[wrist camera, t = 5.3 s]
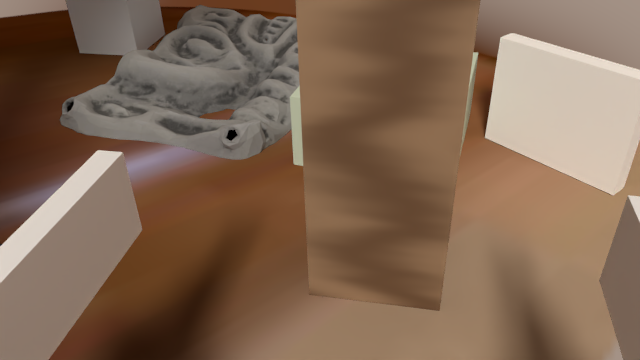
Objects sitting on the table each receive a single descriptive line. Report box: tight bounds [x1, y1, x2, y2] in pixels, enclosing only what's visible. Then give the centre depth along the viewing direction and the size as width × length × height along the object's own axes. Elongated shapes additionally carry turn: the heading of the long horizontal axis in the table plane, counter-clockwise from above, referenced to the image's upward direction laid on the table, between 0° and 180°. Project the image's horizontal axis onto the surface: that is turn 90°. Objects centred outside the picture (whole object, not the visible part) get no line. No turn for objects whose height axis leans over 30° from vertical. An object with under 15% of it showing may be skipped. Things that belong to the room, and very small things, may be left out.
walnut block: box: [296, 0, 480, 311], centre depth 24 cm, size 6×6×18 cm
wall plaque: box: [60, 5, 300, 159], centre depth 47 cm, size 24×19×4 cm
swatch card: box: [485, 33, 640, 195], centre depth 34 cm, size 2×9×7 cm, turn 39°
